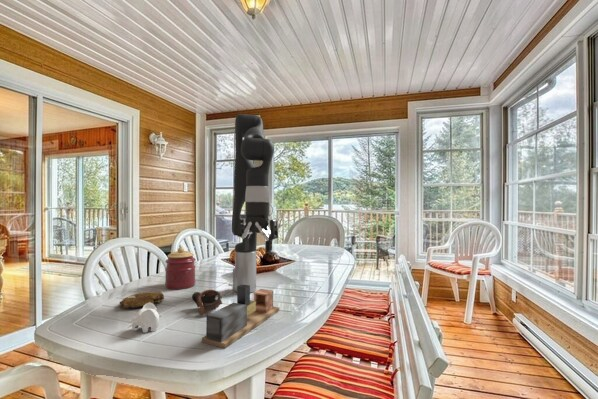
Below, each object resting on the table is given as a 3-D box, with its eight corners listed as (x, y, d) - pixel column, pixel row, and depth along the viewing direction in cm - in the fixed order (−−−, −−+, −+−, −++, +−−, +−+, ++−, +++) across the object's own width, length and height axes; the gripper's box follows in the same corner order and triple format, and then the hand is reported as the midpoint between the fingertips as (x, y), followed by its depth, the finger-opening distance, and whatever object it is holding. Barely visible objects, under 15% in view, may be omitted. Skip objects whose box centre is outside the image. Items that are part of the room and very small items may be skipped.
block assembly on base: (225, 348, 79) (225, 319, 79) (202, 342, 82) (202, 314, 82) (279, 310, 106) (279, 289, 106) (260, 307, 109) (260, 286, 109)
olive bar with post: (220, 331, 81) (220, 298, 81) (211, 329, 82) (212, 297, 82) (255, 310, 97) (256, 282, 97) (248, 309, 98) (248, 281, 98)
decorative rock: (161, 297, 122) (118, 306, 113) (160, 287, 122) (117, 295, 113) (167, 304, 112) (122, 314, 103) (167, 293, 113) (121, 302, 104)
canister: (159, 286, 136) (160, 247, 136) (186, 280, 146) (186, 244, 146) (173, 291, 127) (173, 250, 128) (200, 285, 137) (201, 247, 137)
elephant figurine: (129, 327, 91) (129, 304, 92) (163, 322, 95) (163, 300, 95) (126, 337, 84) (126, 312, 85) (163, 332, 88) (163, 308, 88)
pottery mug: (227, 307, 111) (227, 291, 107) (213, 327, 103) (213, 311, 99) (198, 296, 113) (198, 280, 109) (183, 315, 105) (181, 299, 101)
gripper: (232, 200, 95) (231, 251, 95) (269, 200, 88) (269, 255, 88) (246, 200, 102) (246, 248, 101) (282, 200, 95) (282, 251, 95)
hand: (257, 251), depth 95 cm, fingers open, 8 cm apart
